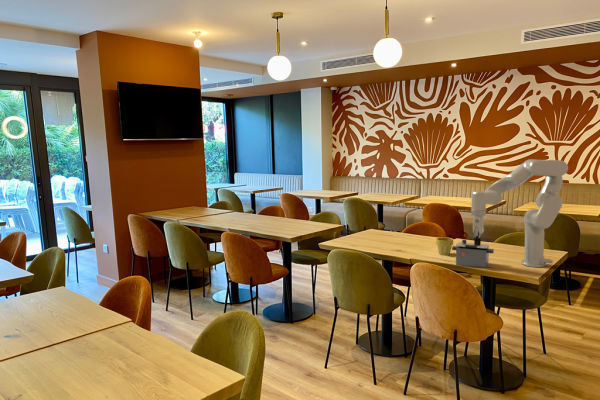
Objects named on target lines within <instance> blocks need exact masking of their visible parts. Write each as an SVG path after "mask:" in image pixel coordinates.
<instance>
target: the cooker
mask: <svg viewBox="0 0 600 400" xmlns="http://www.w3.org/2000/svg"><path fill="white" fill-rule="evenodd" d="M451 250H452V251H456V253H455V257H456V258H455V266H461V267H473V268H482V269H483V268H484V269H487V267H488V265H489V261H490V260H489V254H494V248H490V245H489V246H488V247H487V248H472V247H462V246H456V245H452V247H451Z"/></svg>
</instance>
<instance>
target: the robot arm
mask: <svg viewBox="0 0 600 400" xmlns="http://www.w3.org/2000/svg"><path fill="white" fill-rule="evenodd" d="M568 171H569V165H568V164H567V162H565V161H563V160H558V159H548V160H546V159H532V158H530V159H527V160H525V161H524V162H523V163H521V164H520V165H519V166H518V167H516V168H515V169H513V170H512V171H511V172H509V174H507V175H505V176H503V177H502V178H501V179H499V180H497V181H496V182H494V183H493V184H491V185H490V186H489V187H487V188H486V189H485V190H483V191H482V190H475V191H474V190H473V191H472V193H471V204H470V205H471V208H470V209H471V210H470V211H471V212H470V216H473V217H472V233H473V234H474V240H473V241H474V242H473V243H474V245H480V244H482V243H481V242H482V241H481V240H482V237H481V235H482V234H483V233H484V231H485V216H486V214H487V213H486V212H487V211H486V209H487V207H486V206H487V205H492V206H493V205H500V203H501V202H502V201H503V195H502V194H503V193H506V192H507V191H510V190H513V189H514V190H515V189H516V188H518V187H520V186H522V185H523V184H524V183H525V182H526V181H528V180H529V179H530V178H532V177H533V176H539V177H544V178H545V180H544V184H543V186H542V187H541V189H540V191H539V192H538V195H537V197H536V198H535V205H536V206H537V207H539V209H537V208H531V209H528V210H527V211H526V212H525V213H524V216H523V222H524V254H523V255H524V256H523V257H524V258H523V260H521V261H520V264H521V265H523V266H527V267H533V268H544V267H547V264H553V263H554V261H553V259H550V258H545V255H544V250H545V249H544V248H545V229H548V228H550V227H551V226H552V225H553V223H554V221H555V219H556V218H557V216H558V214H559V213H560V211H561V208H562V207H563V199H562V197H561V196H560V194H559V193H560V191H561V190H562V187H563V184H564V183H563V182H564V181H563V176H564V175H565V174H567V173H568Z"/></svg>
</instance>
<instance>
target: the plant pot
mask: <svg viewBox="0 0 600 400" xmlns="http://www.w3.org/2000/svg"><path fill="white" fill-rule="evenodd" d="M435 244H436V245H437V250H438V254H439V255H440V256H449V255H451V250H452V247H453V246H454V239H453V238H451V237H444V236H443V237H442V236H441V237H436V239H435Z"/></svg>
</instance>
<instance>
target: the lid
mask: <svg viewBox="0 0 600 400" xmlns="http://www.w3.org/2000/svg"><path fill="white" fill-rule="evenodd" d="M455 246H462V247H472V248H487V247H488V246H489V247H490V244H489V243H481V244H480V245H474V242H467V239H461V241H459V242H457V244H456V245H455Z"/></svg>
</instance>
